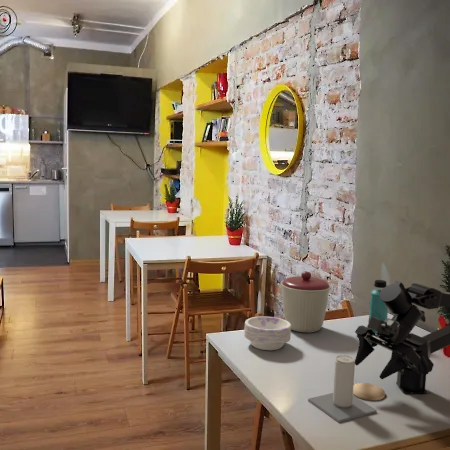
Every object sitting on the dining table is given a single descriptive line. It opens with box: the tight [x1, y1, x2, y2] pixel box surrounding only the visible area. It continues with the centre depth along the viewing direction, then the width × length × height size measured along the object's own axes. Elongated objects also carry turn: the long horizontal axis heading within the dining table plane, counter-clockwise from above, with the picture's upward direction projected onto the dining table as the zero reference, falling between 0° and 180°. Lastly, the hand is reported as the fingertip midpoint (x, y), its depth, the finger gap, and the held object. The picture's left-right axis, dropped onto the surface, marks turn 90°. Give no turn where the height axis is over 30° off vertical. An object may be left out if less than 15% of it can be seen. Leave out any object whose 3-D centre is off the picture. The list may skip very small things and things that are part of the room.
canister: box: [280, 270, 332, 334], centre depth 190 cm, size 18×18×21 cm
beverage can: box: [332, 354, 356, 408], centre depth 132 cm, size 5×5×12 cm
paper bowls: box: [243, 315, 292, 351], centre depth 173 cm, size 15×15×8 cm
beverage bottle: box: [367, 279, 389, 335], centre depth 185 cm, size 6×7×20 cm
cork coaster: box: [353, 382, 386, 402], centre depth 141 cm, size 9×9×1 cm
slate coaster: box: [307, 392, 378, 423], centre depth 133 cm, size 12×12×1 cm
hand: (367, 371), depth 136 cm, fingers open, 9 cm apart
